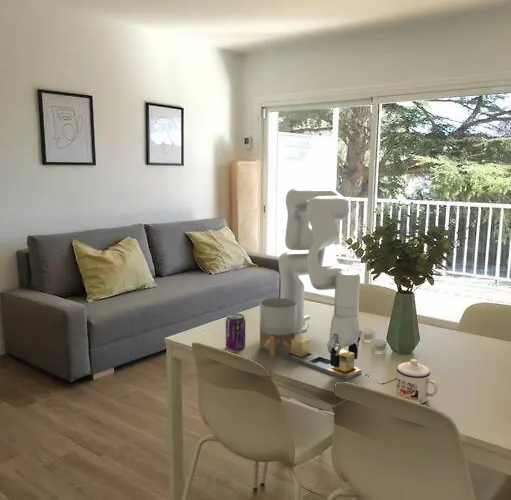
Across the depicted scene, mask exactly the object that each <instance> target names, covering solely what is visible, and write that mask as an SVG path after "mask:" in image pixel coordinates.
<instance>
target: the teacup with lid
mask: <svg viewBox="0 0 511 500" xmlns="http://www.w3.org/2000/svg"><path fill="white" fill-rule="evenodd" d="M397 366H398V367H397V371H398V372H397V379H396V388H395V389H396V390H395V391H396V392H395V397H396V396H398V397H401V398H404V399H408V400H411V401H415V402H419V403H424V402H426V401H428V398H432V397H433V398H434V396H436V395H437V394H438V392H439V385H438V383H437V382H436V381H434V380H433V379H431V378H430V375H431V371H430V368H428V366H425V365H423V364H422V363H419V362H418V360H417V359H415V358H412V359H410V361H406V362H402V363H400V364H398V365H397ZM429 383H430V384H432V385H433V387H434V391H433V393H429ZM426 403H427V402H426ZM424 404H425V403H424Z"/></svg>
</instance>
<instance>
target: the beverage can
mask: <svg viewBox="0 0 511 500" xmlns="http://www.w3.org/2000/svg"><path fill="white" fill-rule="evenodd" d="M225 347H226V348H227V349H229V350H231V351H240V350H242V349H244V348H246V318H245V314H243V313H230V314H227V315H226V319H225Z"/></svg>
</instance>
